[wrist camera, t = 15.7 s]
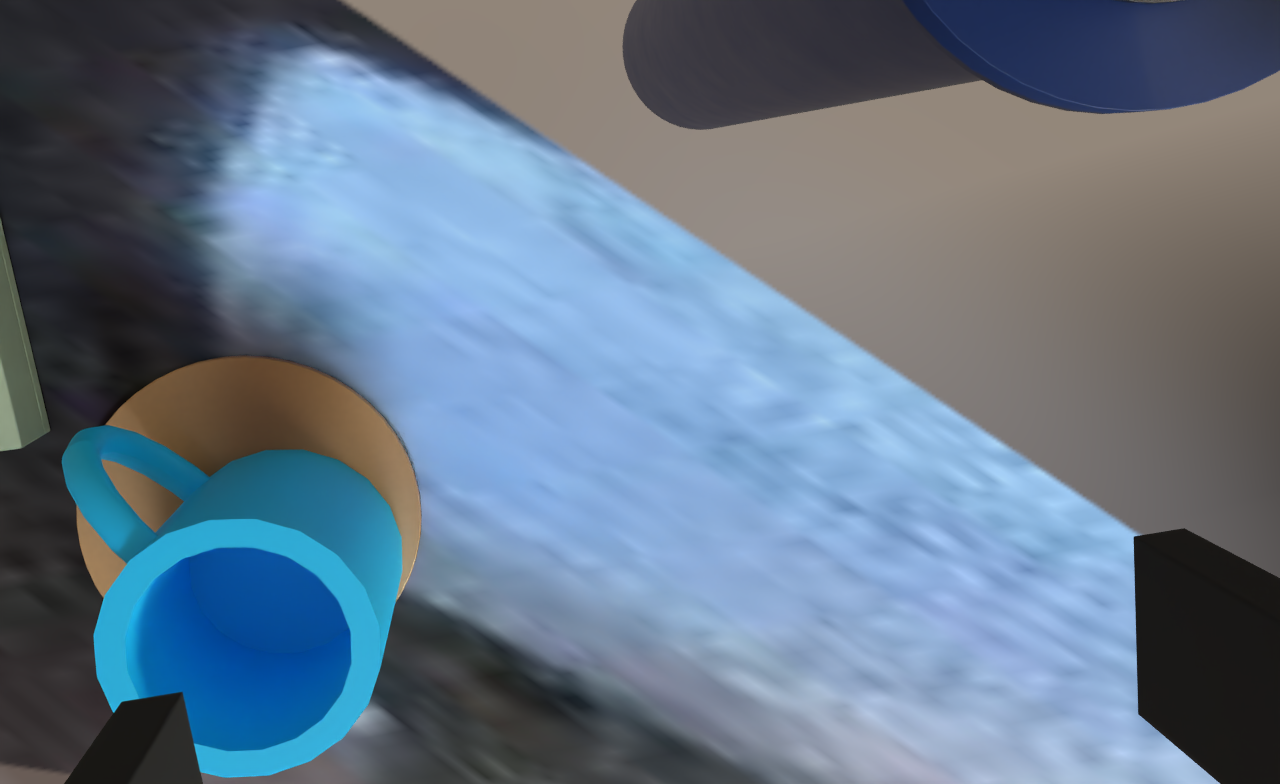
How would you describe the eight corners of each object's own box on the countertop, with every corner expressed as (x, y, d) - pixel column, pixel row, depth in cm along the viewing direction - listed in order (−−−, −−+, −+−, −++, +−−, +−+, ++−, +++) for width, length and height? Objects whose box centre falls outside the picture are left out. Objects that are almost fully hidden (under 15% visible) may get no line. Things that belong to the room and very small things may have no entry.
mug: (449, 553, 42) (439, 643, 34) (295, 703, 42) (249, 828, 34) (198, 326, 39) (122, 366, 31) (36, 489, 39) (-81, 571, 31)
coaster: (393, 333, 40) (392, 335, 40) (444, 642, 43) (443, 647, 42) (45, 380, 39) (41, 382, 39) (119, 695, 41) (116, 700, 41)
